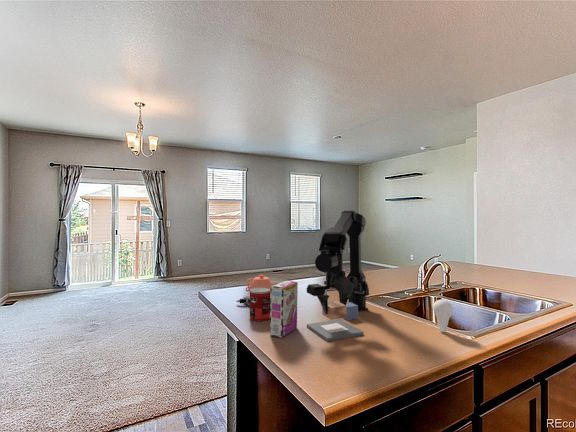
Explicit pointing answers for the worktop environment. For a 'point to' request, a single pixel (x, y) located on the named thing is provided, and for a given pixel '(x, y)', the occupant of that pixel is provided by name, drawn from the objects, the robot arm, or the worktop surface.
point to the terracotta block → (336, 310)
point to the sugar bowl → (260, 283)
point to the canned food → (259, 304)
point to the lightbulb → (442, 313)
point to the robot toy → (247, 300)
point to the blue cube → (351, 311)
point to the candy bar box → (283, 308)
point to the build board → (334, 330)
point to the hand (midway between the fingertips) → (334, 312)
